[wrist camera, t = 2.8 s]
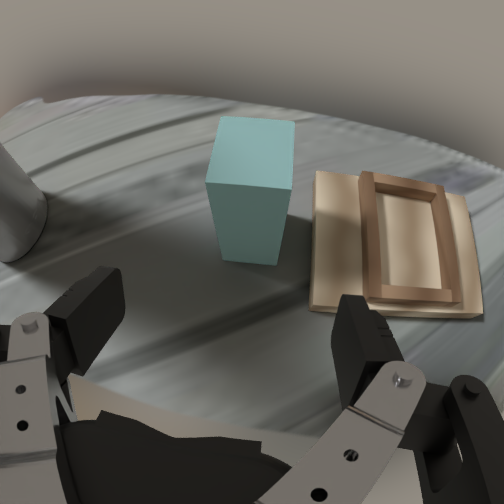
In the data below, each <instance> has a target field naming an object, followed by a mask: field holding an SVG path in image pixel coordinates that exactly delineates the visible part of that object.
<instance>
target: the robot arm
mask: <svg viewBox="0 0 504 504" xmlns="http://www.w3.org/2000/svg"><path fill="white" fill-rule="evenodd" d="M47 210H48V209H47V201H46V197H45V196H44V194H43V193H42V191H41V190H40V189H39V188H38V187H37V186H36V185H35V184H34V182H33V181H32V180H31V179H30V178H29V177H28V176H27V174H26V173H25V172H24V171H23V170H22V168H21V167H20V166H19V165H18V164H17V163H16V161H15V160H14V159H13V158H12V157H11V155H10V154H9V153H8V152H7V151H6V149H5V148H4V147H3V146H2V144H1V143H0V261H2V262H12V261H15V260H17V259H19V258H20V257H22V256H23V255H25V254H26V253H27V252H28V251H29V250H30V249H31V248H32V246H33V245H34V244H35V242H36V241H37V239H38V238H39V236H40V234H41V232H42V230H43V227H44V225H45V221H46V218H47ZM124 314H125V299H124V292H123V284H122V275H121V272H120V270H119V269H118V268H111V267H104V266H100V267H98V268H97V269H96V270H95V271H94V272H93V273H91V274H90V275H89V276H88V277H86V278H84V279H82V280H80V281H78V282H76V283H75V284H74V285H73V286H71V287H70V288H69V290H68V291H66V292H65V293H64V294H63V295H62V296H60V297H59V298H58V299H57V300H56V301H55V302H54V303H53V304H52V305H51V306H50V307H49V308H48V309H47V310H46V311H45V312H44V313H39V312H30V313H26V314H23V315H21V316H19V317H18V318H16V319H15V320H14V321H13V323H12V325H0V504H361V503H362V502H363V500H364V499H365V498H366V496H367V495H368V493H369V492H370V490H371V489H372V487H373V486H374V484H375V482H376V481H377V480H378V478H379V476H380V475H381V473H382V472H383V470H384V469H385V467H386V465H387V464H388V462H389V460H390V458H391V457H392V455H393V453H394V452H395V450H396V448H397V447H398V448H403V449H409V450H413V452H414V456H415V461H416V466H417V471H418V476H419V481H420V487H421V492H422V498H423V504H504V420H503V418H502V416H501V414H500V412H499V410H498V408H497V406H496V404H495V402H494V400H493V398H492V396H491V394H490V392H489V390H488V388H487V387H486V385H485V384H484V383H483V382H482V381H480V380H479V379H477V378H475V377H473V376H469V375H460V376H457V377H455V378H454V379H453V381H452V382H451V384H450V386H449V387H446V386H441V385H436V384H431V383H428V382H426V378H425V376H424V374H423V373H422V371H421V370H420V369H418V368H417V367H416V366H414V365H412V364H410V363H408V362H405V361H404V359H403V356H402V354H401V352H400V350H399V347H398V345H397V343H396V341H395V339H394V338H393V334H392V332H391V330H389V326H388V324H387V322H386V319H385V318H384V317H383V316H382V315H381V314H380V313H378V312H377V311H376V310H370V309H369V307H368V304H367V302H366V300H365V298H364V296H363V295H350V294H342V296H341V298H340V301H339V305H338V310H337V314H336V318H335V322H334V326H333V330H332V335H331V349H332V354H333V359H334V365H335V370H336V376H337V381H338V387H339V393H340V398H341V404H342V410H343V412H342V413H341V415H340V416H339V417H338V418H337V419H336V421H335V422H334V423H333V424H332V425H331V426H330V428H329V429H328V430H327V431H326V432H325V433H324V434H323V436H322V437H321V438H320V439H319V440H318V441H317V442H316V443H315V444H314V446H313V447H312V448H311V449H310V450H309V451H308V452H307V453H306V454H305V455H304V456H303V457H302V458H301V459H300V460H299V462H297V463H296V464H295V465H294V466H293V467H291V466H289V465H288V464H286V463H284V462H282V461H280V460H278V459H276V458H274V457H272V456H269V455H266V454H263V453H261V442H260V441H251V440H241V439H233V438H226V437H199V438H174V437H171V436H168V435H166V434H164V433H162V432H160V431H157V430H155V429H153V428H151V427H149V426H147V425H145V424H143V423H141V422H139V421H137V420H134V419H131V418H127V417H123V416H120V415H116V414H112V413H109V412H106V411H103V410H101V412H100V414H99V416H98V418H97V419H96V420H82V421H78V420H77V415H76V411H75V406H74V402H73V397H72V392H71V386H70V382H69V379H68V375H69V374H70V373H74V374H77V375H80V376H84V375H85V373H86V372H87V370H88V369H89V367H90V366H91V364H92V363H93V361H94V360H95V358H96V357H97V356H98V354H99V353H100V351H101V350H102V348H103V347H104V345H105V344H106V343H107V341H108V340H109V338H110V337H111V336H112V334H113V333H114V331H115V330H116V329H117V327H118V326H119V324H120V323H121V322H122V320H123V318H124ZM457 443H458V445H459V448H460V450H461V454H462V459H463V461H462V460H461V457H460V454H459V450H458V447H457Z"/></svg>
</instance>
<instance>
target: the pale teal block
mask: <svg viewBox="0 0 504 504" xmlns="http://www.w3.org/2000/svg"><path fill="white" fill-rule="evenodd" d="M294 126H295V122H292V121H283V120H272V119H260V118H246V117H228V116H221V119H220V123H219V127H218V130H217V134H216V138H215V142H214V147H213V151H212V155H211V159H210V163H209V167H208V172H207V176H206V180H205V184H206V189H207V193H208V198H209V202H210V207H211V211H212V215H213V220H214V224H215V228H216V233H217V237H218V241H219V246H220V250H221V254H222V258H223V260H225V261H235V262H245V263H255V264H265V265H275V266H277V262H278V257H279V252H280V247H281V242H282V237H283V232H284V227H285V222H286V216H287V211H288V206H289V201H290V196H291V190H292V173H293V151H294Z"/></svg>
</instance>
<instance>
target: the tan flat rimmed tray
mask: <svg viewBox="0 0 504 504" xmlns="http://www.w3.org/2000/svg"><path fill="white" fill-rule="evenodd" d="M342 294H350V295H363V296H364V298H365V300H366V302H367V304H368V307H369V309H370V310H376V311H377V312H378V313H380V314H381V315H382V316H400V317H427V318H473V317H475V316H478V315H480V314H483V306H482V294H481V285H480V276H479V269H478V262H477V255H476V249H475V243H474V238H473V232H472V227H471V223H470V218H469V213H468V209H467V205H466V201H465V197H463V196H459V195H455V194H450V193H446V192H445V191H444V187H443V186H440V185H436V184H431V183H426V182H422V181H417V180H412V179H407V178H401V177H396V176H391V175H385V174H379V173H373V172H367V171H362V173H361V175H360V177H359V176H353V175H346V174H339V173H332V172H324V171H316V174H315V178H314V181H313V215H312V249H311V273H310V293H309V310H308V311H318V312H332V313H337V310H338V305H339V301H340V298H341V296H342Z"/></svg>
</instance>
